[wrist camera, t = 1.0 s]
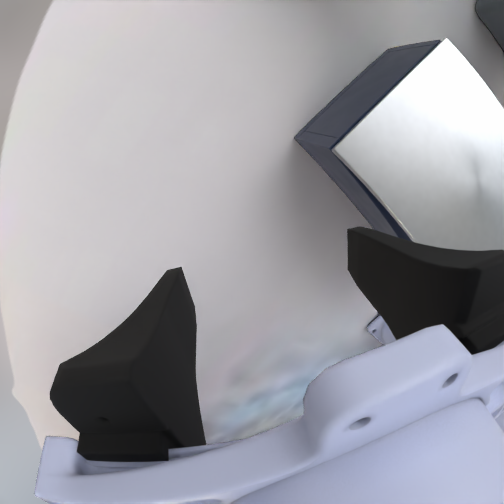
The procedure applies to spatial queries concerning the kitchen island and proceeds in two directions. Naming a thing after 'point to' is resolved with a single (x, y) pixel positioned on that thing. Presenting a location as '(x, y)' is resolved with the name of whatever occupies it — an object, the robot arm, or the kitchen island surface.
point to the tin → (348, 115)
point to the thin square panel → (435, 154)
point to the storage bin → (493, 17)
